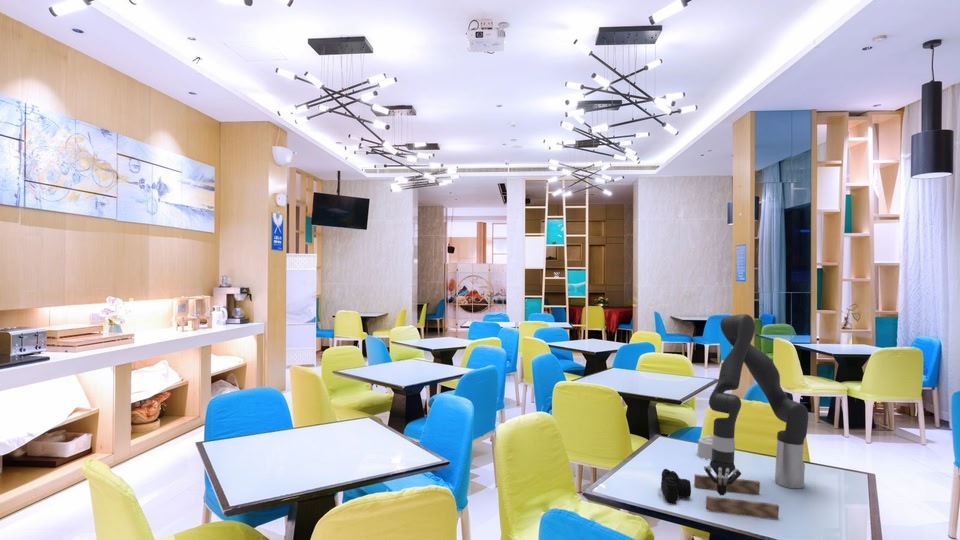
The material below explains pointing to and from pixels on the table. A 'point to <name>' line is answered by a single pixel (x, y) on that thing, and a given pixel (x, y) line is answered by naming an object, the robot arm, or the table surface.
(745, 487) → the walnut chute
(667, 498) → the film camera
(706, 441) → the lumpy-topped squat cylinder
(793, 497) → the table surface
